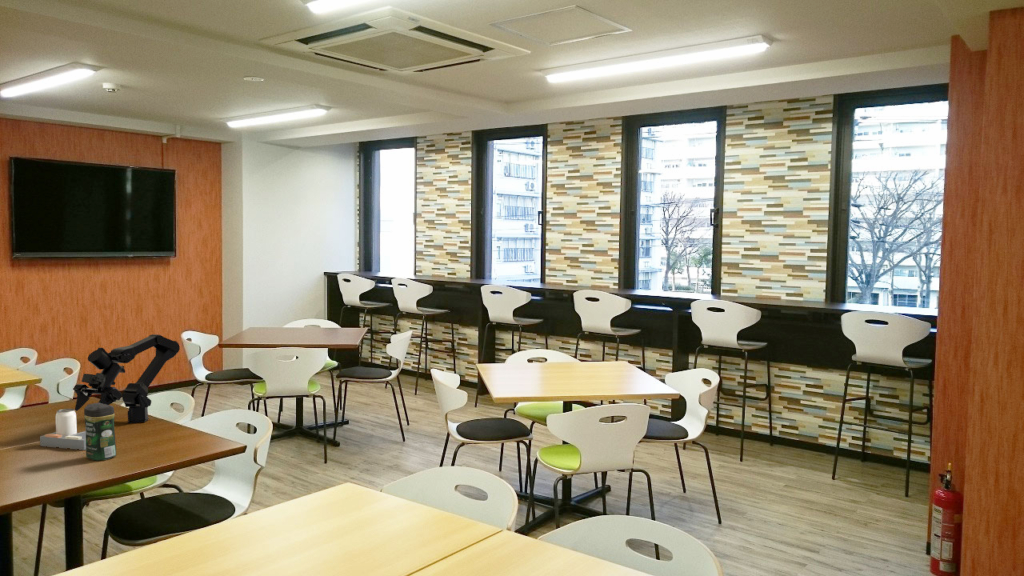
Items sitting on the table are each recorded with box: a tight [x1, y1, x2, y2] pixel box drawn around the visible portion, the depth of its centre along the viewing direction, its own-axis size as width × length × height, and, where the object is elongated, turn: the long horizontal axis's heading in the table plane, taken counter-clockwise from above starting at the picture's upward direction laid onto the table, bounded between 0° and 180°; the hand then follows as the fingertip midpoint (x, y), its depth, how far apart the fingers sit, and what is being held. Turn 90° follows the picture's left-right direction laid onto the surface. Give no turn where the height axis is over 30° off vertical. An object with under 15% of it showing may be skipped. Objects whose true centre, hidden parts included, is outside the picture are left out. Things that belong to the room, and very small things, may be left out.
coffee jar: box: [83, 402, 117, 462], centre depth 251 cm, size 10×8×19 cm
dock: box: [39, 430, 86, 451], centre depth 269 cm, size 10×20×4 cm, turn 72°
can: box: [55, 408, 78, 437], centre depth 271 cm, size 6×6×12 cm
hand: (85, 411), depth 279 cm, fingers open, 9 cm apart
